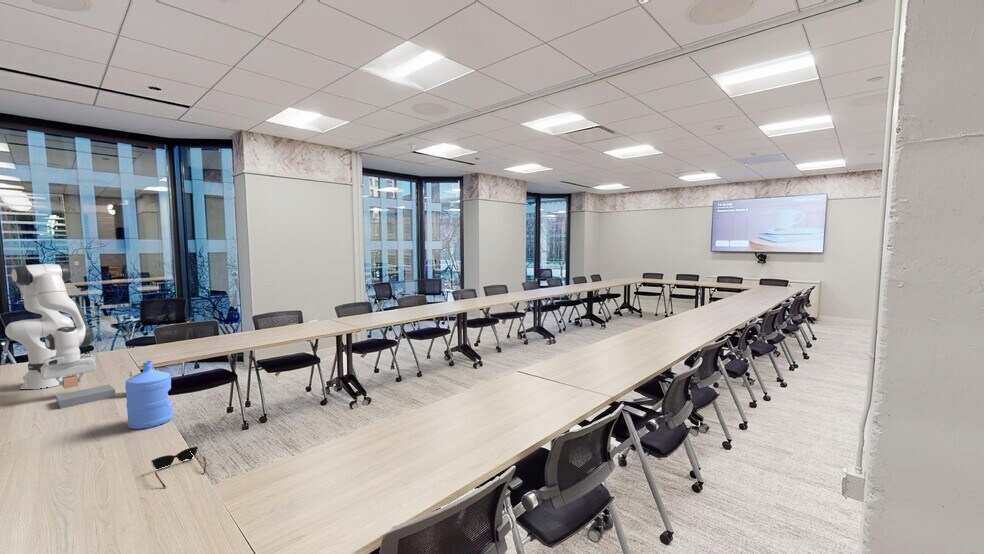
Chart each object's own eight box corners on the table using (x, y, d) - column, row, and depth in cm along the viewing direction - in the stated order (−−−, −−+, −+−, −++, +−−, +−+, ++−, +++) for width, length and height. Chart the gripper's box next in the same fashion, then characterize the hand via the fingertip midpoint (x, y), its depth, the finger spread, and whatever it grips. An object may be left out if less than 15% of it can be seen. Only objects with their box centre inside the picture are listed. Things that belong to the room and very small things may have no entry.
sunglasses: (198, 457, 151) (198, 445, 150) (210, 476, 140) (209, 463, 139) (151, 473, 140) (150, 459, 140) (159, 494, 130) (158, 480, 129)
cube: (62, 386, 211) (62, 377, 210) (76, 383, 215) (75, 374, 214) (64, 388, 208) (63, 379, 207) (78, 386, 212) (77, 376, 211)
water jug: (147, 431, 171) (143, 368, 169) (118, 428, 174) (114, 365, 172) (181, 416, 186) (178, 358, 184) (154, 413, 190) (151, 356, 188)
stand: (56, 402, 203) (55, 395, 202) (109, 391, 219) (109, 384, 218) (60, 408, 195) (59, 400, 195) (115, 396, 211) (114, 389, 211)
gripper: (94, 352, 220) (96, 376, 221) (39, 360, 204) (40, 386, 205) (97, 354, 216) (98, 379, 218) (40, 363, 200) (42, 389, 201)
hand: (70, 383), depth 211 cm, fingers closed on cube, 5 cm apart
